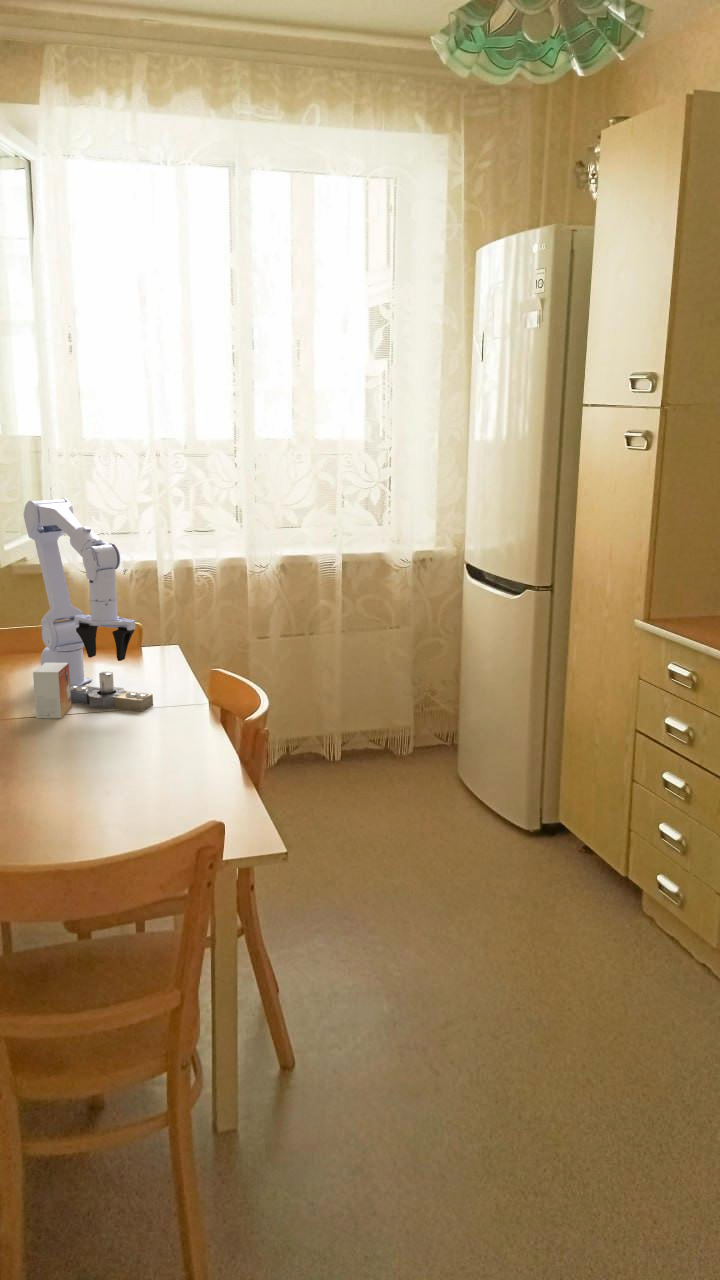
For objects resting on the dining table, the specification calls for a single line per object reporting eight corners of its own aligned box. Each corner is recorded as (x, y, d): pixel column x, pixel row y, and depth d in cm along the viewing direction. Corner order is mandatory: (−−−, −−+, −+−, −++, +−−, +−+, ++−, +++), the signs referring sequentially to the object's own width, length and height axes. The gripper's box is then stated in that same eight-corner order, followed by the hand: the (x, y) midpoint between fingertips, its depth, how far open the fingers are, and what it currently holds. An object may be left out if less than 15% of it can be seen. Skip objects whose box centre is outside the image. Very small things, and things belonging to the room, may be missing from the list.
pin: (98, 704, 230) (96, 674, 228) (106, 700, 233) (105, 670, 231) (108, 705, 229) (106, 676, 227) (117, 702, 231) (115, 672, 229)
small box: (61, 719, 219) (58, 672, 217) (35, 718, 220) (32, 671, 217) (72, 707, 227) (69, 662, 225) (47, 707, 227) (44, 661, 225)
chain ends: (57, 703, 230) (56, 690, 229) (78, 693, 237) (77, 681, 237) (137, 713, 223) (137, 700, 223) (156, 703, 231) (156, 690, 230)
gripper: (64, 599, 224) (68, 659, 227) (122, 605, 219) (124, 665, 223) (83, 593, 230) (86, 651, 234) (139, 598, 226) (142, 657, 229)
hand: (106, 658), depth 229 cm, fingers open, 7 cm apart
